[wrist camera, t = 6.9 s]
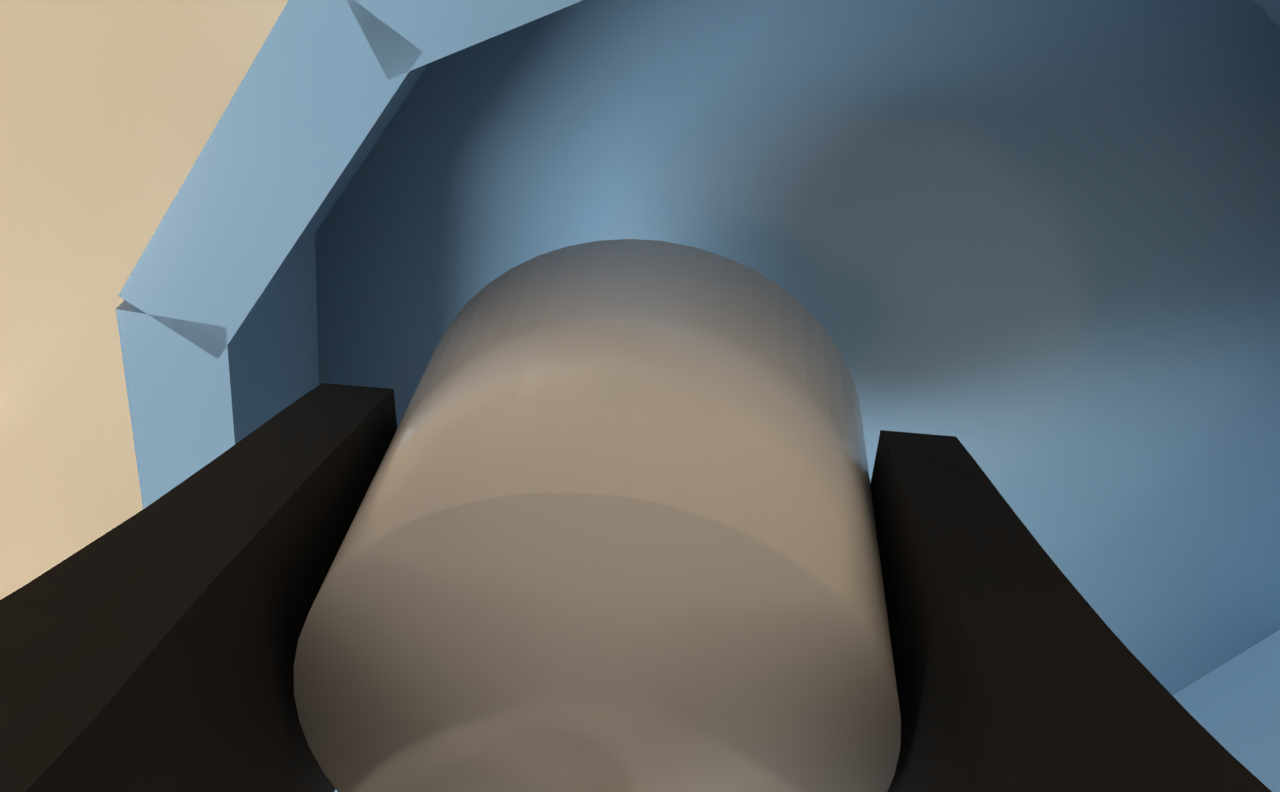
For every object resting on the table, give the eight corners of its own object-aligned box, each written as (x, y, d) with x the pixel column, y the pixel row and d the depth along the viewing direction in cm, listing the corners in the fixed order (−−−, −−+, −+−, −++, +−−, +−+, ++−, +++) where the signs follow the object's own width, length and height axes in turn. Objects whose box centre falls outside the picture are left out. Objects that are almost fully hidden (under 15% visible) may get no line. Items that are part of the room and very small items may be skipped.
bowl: (72, 456, 15) (-67, 615, 13) (773, -695, 8) (776, -848, 6) (852, 912, 19) (866, 1104, 16) (1762, 361, 12) (2019, 543, 10)
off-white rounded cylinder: (419, 211, 9) (267, 450, 7) (905, 271, 9) (970, 540, 6) (424, 576, 12) (313, 876, 9) (820, 628, 11) (837, 949, 9)
